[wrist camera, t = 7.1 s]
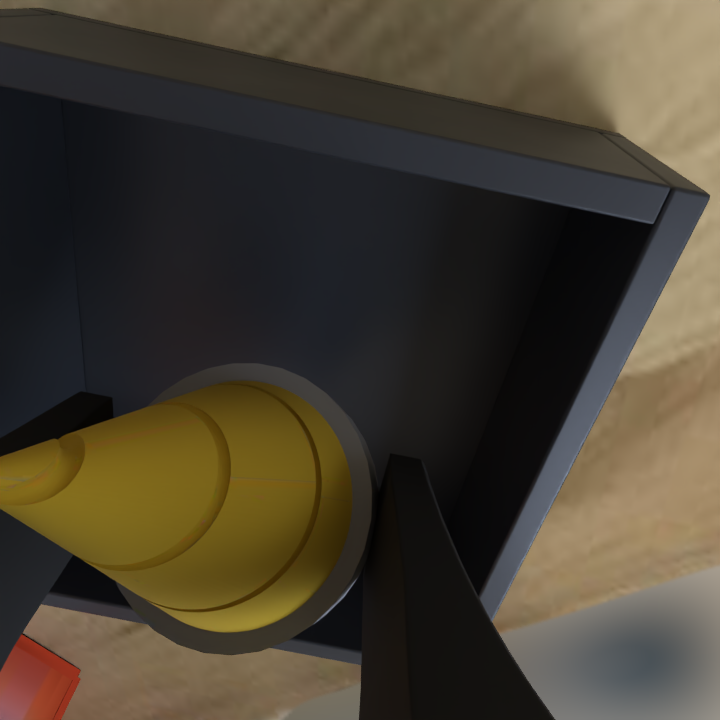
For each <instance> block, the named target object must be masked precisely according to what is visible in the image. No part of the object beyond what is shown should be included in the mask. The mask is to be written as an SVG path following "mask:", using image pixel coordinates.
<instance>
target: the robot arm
mask: <svg viewBox="0 0 720 720" xmlns="http://www.w3.org/2000/svg"><path fill="white" fill-rule="evenodd" d="M113 418H114V416H113V398H112V397H108V396H103V395H98V394H93V393H88V392H83V391H80V392H78V393H77V394H75V395H73V396H71V397H69V398H68V399H66V400H64V401H62V402H61V403H59V404H57V405H56V406H54V407H52V408H51V409H49V410H47V411H46V412H44V413H42V414H41V415H39V416H37V417H36V418H34V419H32V420H30V421H29V422H27V423H25V424H24V425H22V426H20V427H19V428H17V429H15V430H13V431H12V432H10V433H8V434H6V435H5V436H3V437H1V438H0V457H1V456H4V455H7V454H10V453H13V452H16V451H19V450H22V449H25V448H28V447H31V446H34V445H37V444H40V443H42V442H45V441H48V440H51V439H57V440H58V439H59V438H61V437H62V436H64V435H66V434H69V433H72V432H75V431H78V430H81V429H84V428H87V427H89V426H92V425H95V424H98V423H101V422H104V421H107V420H110V419H113ZM72 556H73V554H72V553H70V552H68V551H67V550H65V549H64V548H62V547H61V546H59V545H57V544H56V543H54V542H53V541H51V540H49V539H48V538H46V537H45V536H43V535H41V534H40V533H38V532H37V531H35V530H33V529H32V528H30V527H29V526H27V525H25V524H24V523H22V522H21V521H19V520H17V519H16V518H14V517H13V516H11V515H9V514H8V513H6V512H5V511H3V510H2V509H0V672H1V670H2V668H3V666H4V664H5V662H6V660H7V658H8V656H9V655H10V653H11V651H12V649H13V647H14V646H15V644H16V642H17V641H18V639H19V637H20V636H21V634H22V632H23V631H24V629H25V628H26V626H27V624H28V623H29V621H30V620H31V618H32V617H33V615H34V614H35V612H36V611H37V609H38V608H39V606H40V605H41V603H42V601H43V600H44V598H45V597H46V595H47V594H48V592H49V591H50V589H51V588H52V586H53V585H54V583H55V582H56V580H57V579H58V577H59V576H60V574H61V573H62V571H63V569H64V568H65V566H66V565H67V563H68V562H69V560H70V559H71V557H72ZM359 720H555V719H554V717H553V716H552V714H551V713H550V712H549V710H548V709H547V707H546V706H545V704H544V703H543V702H542V700H541V699H540V697H539V696H538V695H537V693H536V692H535V690H534V689H533V688H532V686H531V685H530V683H529V682H528V680H527V679H526V677H525V675H524V674H523V672H522V671H521V669H520V668H519V666H518V664H517V663H516V662H515V660H514V658H513V657H512V655H511V653H510V652H509V650H508V648H507V647H506V645H505V643H504V642H503V640H502V638H501V637H500V635H499V633H498V632H497V630H496V628H495V626H494V625H493V623H492V621H491V619H490V617H489V616H488V614H487V612H486V610H485V608H484V606H483V604H482V603H481V601H480V599H479V597H478V595H477V593H476V591H475V589H474V587H473V585H472V583H471V581H470V579H469V577H468V575H467V573H466V571H465V568H464V566H463V564H462V562H461V560H460V558H459V555H458V553H457V551H456V548H455V546H454V544H453V541H452V539H451V537H450V534H449V532H448V530H447V527H446V525H445V522H444V520H443V517H442V514H441V512H440V509H439V506H438V504H437V501H436V498H435V495H434V492H433V489H432V486H431V483H430V480H429V477H428V473H427V470H426V466H425V464H424V463H423V461H422V460H421V459H417V458H412V457H407V456H402V455H397V454H392V453H390V456H389V460H388V463H387V467H386V470H385V474H384V477H383V481H382V484H381V488H380V491H379V497H378V505H377V514H376V522H375V527H374V532H373V537H372V542H371V547H370V550H369V554H368V557H367V560H366V562H365V567H364V575H363V613H362V659H361V695H360V712H359Z"/></svg>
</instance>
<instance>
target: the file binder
mask: <svg viewBox="0 0 720 720" xmlns="http://www.w3.org/2000/svg"><path fill="white" fill-rule="evenodd" d="M80 671H81V670H79V669H77V668H76V667H74V666H73V665H71V664H69V663H68V662H66V661H64V660H63V659H61V658H60V657H58V656H56V655H55V654H53V653H51V652H50V651H48V650H47V649H45V648H43V647H42V646H40V645H38V644H37V643H35V642H34V641H32V640H30V639H29V638H27V637H25V636H24V635H22V634H21V636H20V637H19V639H18V641H17V642H16V644H15V646H14V647H13V649H12V651H11V653H10V655H9V656H8V658H7V660H6V662H5V664H4V666H3V668H2V670H1V672H0V720H61V718H62V716H63V714H64V712H65V710H66V708H67V706H68V704H69V702H70V700H71V698H72V696H73V694H74V692H75V690H76V687H77V685H78V683H79V681H80V678H78V675H79V673H80Z"/></svg>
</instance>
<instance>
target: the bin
mask: <svg viewBox="0 0 720 720" xmlns="http://www.w3.org/2000/svg"><path fill="white" fill-rule="evenodd" d="M709 198H710V195H709V194H708V193H707V192H705V191H704V190H702V189H701V188H699V187H698V186H696V185H695V184H693V183H692V182H690V181H689V180H687V179H686V178H684V177H683V176H681V175H680V174H678V173H677V172H676V171H674V170H673V169H671V168H670V167H668V166H667V165H665V164H664V163H662V162H661V161H659V160H658V159H656V158H655V157H653V156H652V155H650V154H649V153H647V152H646V151H644V150H643V149H641V148H640V147H638V146H637V145H635V144H634V143H632V142H631V141H629V140H628V139H626V138H625V137H624V136H622V135H621V134H619V133H615V132H611V131H606V130H601V129H597V128H592V127H588V126H583V125H578V124H574V123H569V122H564V121H560V120H555V119H551V118H546V117H541V116H537V115H532V114H528V113H523V112H518V111H514V110H509V109H504V108H500V107H495V106H491V105H486V104H481V103H477V102H472V101H468V100H463V99H458V98H454V97H449V96H444V95H440V94H435V93H431V92H426V91H421V90H417V89H412V88H408V87H403V86H398V85H394V84H389V83H384V82H380V81H375V80H371V79H366V78H361V77H357V76H352V75H348V74H343V73H338V72H334V71H329V70H324V69H320V68H315V67H311V66H306V65H301V64H297V63H292V62H288V61H283V60H278V59H274V58H269V57H264V56H260V55H255V54H251V53H246V52H241V51H237V50H232V49H228V48H223V47H218V46H214V45H209V44H205V43H200V42H195V41H191V40H186V39H181V38H177V37H172V36H168V35H163V34H158V33H154V32H149V31H145V30H140V29H135V28H131V27H126V26H121V25H117V24H112V23H108V22H103V21H98V20H94V19H89V18H85V17H80V16H75V15H71V14H66V13H61V12H57V11H52V10H48V9H43V8H29V9H27V8H26V9H0V438H1V437H3V436H5V435H6V434H8V433H10V432H12V431H13V430H15V429H17V428H19V427H20V426H22V425H24V424H25V423H27V422H29V421H30V420H32V419H34V418H36V417H37V416H39V415H41V414H42V413H44V412H46V411H47V410H49V409H51V408H52V407H54V406H56V405H57V404H59V403H61V402H62V401H64V400H66V399H68V398H69V397H71V396H73V395H75V394H77V393H78V392H80V391H83V392H88V393H93V394H98V395H103V396H108V397H112V398H113V416H114V418H116V417H119V416H122V415H125V414H128V413H131V412H134V411H137V410H140V409H142V408H145V407H147V406H148V405H149V404H150V403H151V402H152V401H153V400H154V399H156V398H157V397H158V396H159V395H160V394H161V393H162V392H163V391H165V390H166V389H168V388H170V387H171V386H173V385H174V384H176V383H177V382H179V381H180V380H182V379H184V378H186V377H188V376H190V375H193V374H195V373H198V372H200V371H203V370H205V369H208V368H212V367H217V366H222V365H227V364H232V363H258V364H263V365H268V366H273V367H278V368H283V369H285V370H287V371H289V372H292V373H294V374H296V375H299V376H301V377H303V378H305V379H307V380H308V381H310V382H311V383H313V384H314V385H315V386H317V387H318V388H320V389H321V390H323V391H324V392H325V393H327V394H328V395H329V396H330V397H331V398H332V399H333V400H334V401H335V402H336V403H337V404H338V405H339V406H340V407H341V408H342V409H343V410H344V411H345V413H346V414H347V415H348V416H349V417H350V418H351V419H352V420H353V422H354V423H355V425H356V427H357V428H358V430H359V431H360V433H361V435H362V436H363V438H364V440H365V441H366V444H367V446H368V449H369V452H370V455H371V457H372V460H373V463H374V465H375V471H376V477H377V483H378V490H379V491H380V488H381V484H382V481H383V477H384V474H385V470H386V467H387V463H388V460H389V456H390V453H392V454H397V455H402V456H407V457H412V458H417V459H421V460H422V461H423V463H424V464H425V466H426V470H427V473H428V477H429V480H430V483H431V486H432V489H433V492H434V495H435V498H436V501H437V504H438V506H439V509H440V512H441V514H442V517H443V520H444V522H445V525H446V527H447V530H448V532H449V534H450V537H451V539H452V541H453V544H454V546H455V548H456V551H457V553H458V555H459V558H460V560H461V562H462V564H463V566H464V568H465V571H466V573H467V575H468V577H469V579H470V581H471V583H472V585H473V587H474V589H475V591H476V593H477V595H478V597H479V599H480V601H481V603H482V604H483V606H484V608H485V610H486V612H487V614H488V616H489V617H490V619H491V621H493V619H494V617H495V615H496V613H497V611H498V609H499V607H500V605H501V603H502V601H503V599H504V597H505V595H506V593H507V591H508V590H509V588H510V586H511V584H512V582H513V580H514V578H515V576H516V574H517V572H518V570H519V568H520V566H521V564H522V562H523V560H524V558H525V556H526V555H527V553H528V551H529V549H530V547H531V545H532V543H533V541H534V539H535V537H536V535H537V533H538V531H539V529H540V527H541V525H542V523H543V522H544V520H545V518H546V516H547V514H548V512H549V510H550V508H551V506H552V504H553V502H554V500H555V498H556V496H557V494H558V492H559V490H560V488H561V487H562V485H563V483H564V481H565V479H566V477H567V475H568V473H569V471H570V469H571V467H572V465H573V463H574V461H575V459H576V457H577V455H578V454H579V452H580V450H581V448H582V446H583V444H584V442H585V440H586V438H587V436H588V434H589V432H590V430H591V428H592V426H593V424H594V422H595V420H596V419H597V417H598V415H599V413H600V411H601V409H602V407H603V405H604V403H605V401H606V399H607V397H608V395H609V393H610V391H611V389H612V387H613V386H614V384H615V382H616V380H617V378H618V376H619V374H620V372H621V370H622V368H623V366H624V364H625V362H626V360H627V358H628V356H629V354H630V352H631V351H632V349H633V347H634V345H635V343H636V341H637V339H638V337H639V335H640V333H641V331H642V329H643V327H644V325H645V323H646V321H647V319H648V318H649V316H650V314H651V312H652V310H653V308H654V306H655V304H656V302H657V300H658V298H659V296H660V294H661V292H662V290H663V288H664V286H665V284H666V283H667V281H668V279H669V277H670V275H671V273H672V271H673V269H674V267H675V265H676V263H677V261H678V259H679V257H680V255H681V253H682V251H683V250H684V248H685V246H686V244H687V242H688V240H689V238H690V236H691V234H692V232H693V230H694V228H695V226H696V224H697V222H698V220H699V218H700V217H701V215H702V213H703V211H704V209H705V207H706V205H707V203H708V201H709ZM364 567H365V565H364ZM364 567H363V569H362V571H361V574H360V575H359V576H358V578H357V579H356V581H355V582H354V584H353V585H352V587H351V588H350V590H349V591H348V593H347V594H346V595H345V597H344V598H343V599H342V600H341V601H340V602H339V603H338V604H337V605H336V606H335V607H334V608H333V609H332V610H330V611H329V612H328V613H327V614H326V615H325V616H324V617H323V618H321V619H320V620H319V621H317V622H316V623H314V624H313V625H311V626H310V627H308V628H307V629H305V630H304V631H302V632H301V633H299V634H297V635H296V636H294V637H293V638H291V639H290V640H288V641H286V642H283V643H280V644H278V645H275V646H273V647H270V648H274V649H279V650H284V651H290V652H295V653H300V654H305V655H311V656H316V657H321V658H326V659H332V660H337V661H342V662H347V663H353V664H358V665H361V659H362V613H363V575H364ZM41 604H43V605H48V606H54V607H59V608H64V609H69V610H75V611H80V612H85V613H90V614H96V615H101V616H106V617H111V618H117V619H122V620H127V621H132V622H138V623H143V624H147V623H146V622H145V621H144V620H143V619H142V618H141V617H140V616H139V615H138V614H137V613H136V612H134V610H133V609H132V607H131V606H130V604H129V603H128V601H127V600H126V598H125V597H124V596H123V594H122V593H121V591H120V590H119V588H118V586H117V583H116V581H115V580H113V579H112V578H110V577H108V576H107V575H105V574H104V573H102V572H100V571H99V570H97V569H96V568H94V567H93V566H91V565H89V564H88V563H86V562H85V561H83V560H81V559H80V558H78V557H77V556H75V555H73V556H72V557H71V559H70V560H69V562H68V563H67V565H66V566H65V568H64V569H63V571H62V573H61V574H60V576H59V577H58V579H57V580H56V582H55V583H54V585H53V586H52V588H51V589H50V591H49V592H48V594H47V595H46V597H45V598H44V600H43V601H42V603H41Z"/></svg>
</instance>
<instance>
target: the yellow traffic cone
mask: <svg viewBox="0 0 720 720" xmlns="http://www.w3.org/2000/svg"><path fill="white" fill-rule="evenodd" d="M378 497H379V490H378V483H377V477H376V471H375V465H374V463H373V460H372V457H371V455H370V452H369V449H368V446H367V444H366V441H365V440H364V438H363V436H362V435H361V433H360V431H359V430H358V428H357V427H356V425H355V423H354V422H353V420H352V419H351V418H350V417H349V416H348V415H347V414H346V413H345V411H344V410H343V409H342V408H341V407H340V406H339V405H338V404H337V403H336V402H335V401H334V400H333V399H332V398H331V397H330V396H329V395H328V394H327V393H325V392H324V391H323V390H321V389H320V388H318V387H317V386H315V385H314V384H313V383H311V382H310V381H308V380H307V379H305V378H303V377H301V376H299V375H296V374H294V373H292V372H289V371H287V370H285V369H283V368H278V367H273V366H268V365H263V364H258V363H232V364H227V365H222V366H217V367H212V368H208V369H205V370H203V371H200V372H198V373H195V374H193V375H190V376H188V377H186V378H184V379H182V380H180V381H179V382H177V383H176V384H174V385H173V386H171V387H170V388H168V389H166V390H165V391H163V392H162V393H161V394H160V395H159V396H158V397H157V398H156V399H154V400H153V401H152V402H151V403H150V404H149V405H148V406H147V407H145V408H142V409H140V410H137V411H134V412H131V413H128V414H125V415H122V416H119V417H116V418H113V419H110V420H107V421H104V422H101V423H98V424H95V425H92V426H89V427H87V428H84V429H81V430H78V431H75V432H72V433H69V434H66V435H64V436H62V437H61V438H59V439H58V440H57V439H51V440H48V441H45V442H42V443H40V444H37V445H34V446H31V447H28V448H25V449H22V450H19V451H16V452H13V453H10V454H7V455H4V456H1V457H0V509H2V510H3V511H5V512H6V513H8V514H9V515H11V516H13V517H14V518H16V519H17V520H19V521H21V522H22V523H24V524H25V525H27V526H29V527H30V528H32V529H33V530H35V531H37V532H38V533H40V534H41V535H43V536H45V537H46V538H48V539H49V540H51V541H53V542H54V543H56V544H57V545H59V546H61V547H62V548H64V549H65V550H67V551H68V552H70V553H72V554H73V555H75V556H77V557H78V558H80V559H81V560H83V561H85V562H86V563H88V564H89V565H91V566H93V567H94V568H96V569H97V570H99V571H100V572H102V573H104V574H105V575H107V576H108V577H110V578H112V579H113V580H115V581H116V583H117V586H118V588H119V590H120V591H121V593H122V594H123V596H124V597H125V598H126V600H127V601H128V603H129V604H130V606H131V607H132V609H133V610H134V612H136V613H137V614H138V615H139V616H140V617H141V618H142V619H143V620H144V621H145V622H146V623H147V624H148V625H149V626H150V627H151V628H152V629H153V630H155V631H156V632H158V633H160V634H161V635H163V636H165V637H166V638H168V639H170V640H171V641H173V642H175V643H176V644H178V645H181V646H184V647H188V648H191V649H194V650H197V651H200V652H203V653H212V654H224V655H236V654H244V653H251V652H258V651H262V650H265V649H267V648H270V647H273V646H275V645H278V644H280V643H283V642H286V641H288V640H290V639H291V638H293V637H294V636H296V635H297V634H299V633H301V632H302V631H304V630H305V629H307V628H308V627H310V626H311V625H313V624H314V623H316V622H317V621H319V620H320V619H321V618H323V617H324V616H325V615H326V614H327V613H328V612H329V611H330V610H332V609H333V608H334V607H335V606H336V605H337V604H338V603H339V602H340V601H341V600H342V599H343V598H344V597H345V595H346V594H347V593H348V591H349V590H350V588H351V587H352V585H353V584H354V582H355V581H356V579H357V578H358V576H359V575H360V574H361V571H362V569H363V567H364V565H365V562H366V560H367V557H368V554H369V550H370V547H371V542H372V537H373V532H374V527H375V522H376V514H377V505H378Z"/></svg>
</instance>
